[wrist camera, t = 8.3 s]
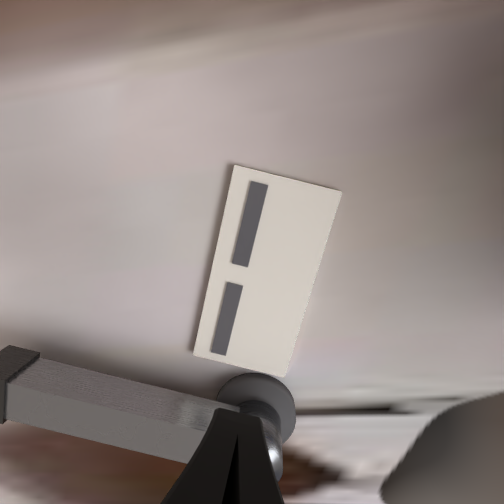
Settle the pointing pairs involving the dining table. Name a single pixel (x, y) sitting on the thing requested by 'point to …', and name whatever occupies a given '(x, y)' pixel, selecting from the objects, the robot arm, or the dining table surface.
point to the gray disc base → (262, 397)
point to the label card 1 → (250, 322)
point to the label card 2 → (275, 228)
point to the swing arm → (116, 408)
